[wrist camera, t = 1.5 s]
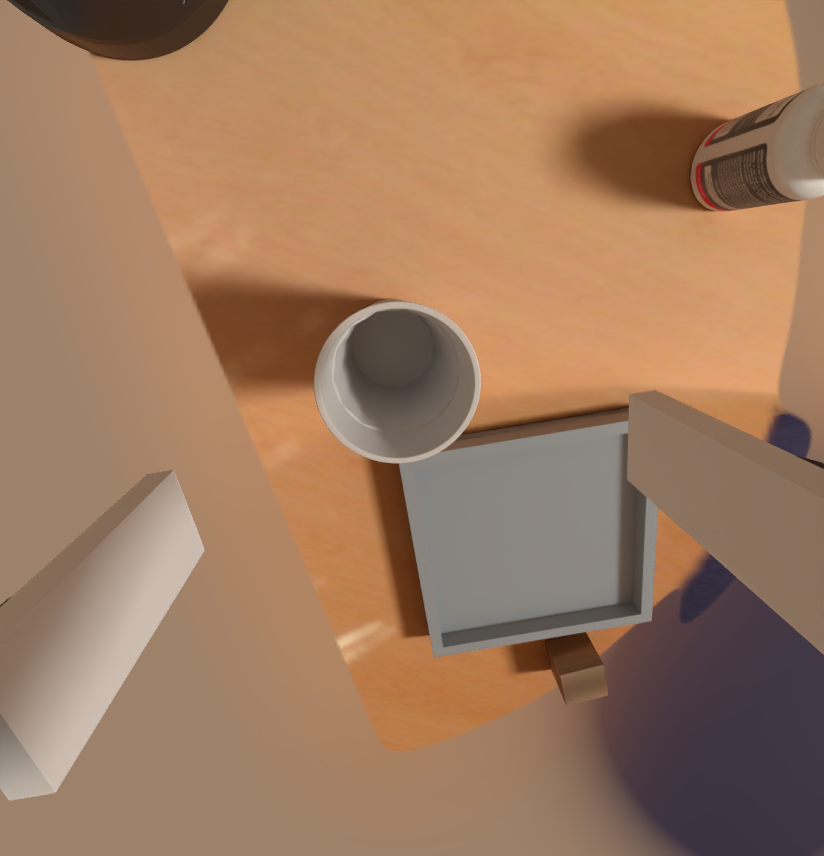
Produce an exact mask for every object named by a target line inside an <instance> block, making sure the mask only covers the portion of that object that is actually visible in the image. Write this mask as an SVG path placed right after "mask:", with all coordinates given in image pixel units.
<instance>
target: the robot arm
mask: <svg viewBox="0 0 824 856" xmlns="http://www.w3.org/2000/svg"><path fill="white" fill-rule="evenodd" d="M8 1H9V2H11V3H12V4H13V5H14V6H16V7H17V8H18V9H20V10H21V11H22V12H24V13H25V14H26V15H28V16H29V17H31V18H32V19H34V20H35V21H37V22H38V23H39V24H41V25H42V26H44V27H45V28H47V29H48V30H50V31H51V32H53V33H54V34H56V35H57V36H59V37H61V38H62V39H64V40H66V41H68V42H69V43H72V44H74V45H76V46H78V47H80V48H82V49H85V50H87V51H90V52H93V53H96V54H99V55H103V56H108V57H113V58H119V59H148V58H154V57H159V56H163V55H166V54H169V53H172V52H174V51H176V50H179V49H181V48H182V47H184V46H186V45H188V44H189V43H191V42H192V41H194V40H195V39H196V38H198V37H199V36H200V35H201V34H203V33H204V32H205V31H206V30H207V29H208V28H209V27H210V26H211V24H212V23H213V22H214V21H215V20H216V19H217V17H218V16H219V14H220V13H221V12H222V10H223V9H224V7H225V5H226V3H227V2H228V0H8ZM627 480H628V481H629V482H630V483H631V484H632V485H634V486H635V487H636V488H637V489H638V490H639V491H640V492H641V493H643V494H644V495H645V496H646V497H647V498H648V499H649V500H650V501H652V502H653V503H654V504H655V505H656V506H657V507H658V508H659V509H661V510H662V511H663V512H664V513H665V514H666V515H667V516H668V517H670V518H671V519H672V520H673V521H674V522H675V523H676V524H677V525H679V526H680V527H681V528H682V529H683V530H684V531H685V532H686V533H688V534H689V535H690V536H691V537H692V538H693V539H694V540H695V541H697V542H698V543H699V544H700V545H701V546H702V547H703V548H704V549H706V550H707V551H708V552H709V553H710V554H711V555H712V556H713V557H714V558H716V559H717V560H718V561H719V562H720V563H721V564H722V565H723V566H725V567H726V568H727V569H728V570H729V571H730V572H731V573H732V574H734V575H735V576H736V577H737V578H738V579H739V580H740V581H741V582H743V583H744V584H745V585H746V586H747V587H748V588H750V590H752V591H753V592H754V593H755V594H756V595H757V596H759V598H761V599H762V600H763V601H764V602H765V603H766V604H767V605H769V606H770V607H771V608H772V609H773V610H774V611H775V612H776V613H777V614H779V615H780V616H781V617H782V618H783V619H784V620H785V621H787V622H788V623H789V624H790V625H791V626H792V627H793V628H794V629H796V630H797V631H798V632H799V633H800V634H801V635H802V636H803V637H804V638H806V639H807V640H808V641H809V642H810V643H811V644H812V645H813V646H815V647H816V648H817V649H818V650H819V651H820V652H821V653H822V654H824V464H823V463H821V462H818V461H814V460H810V459H807V458H803V457H799V456H796V455H792V454H790V453H788V452H786V451H784V450H782V449H780V448H778V447H775V446H773V445H771V444H769V443H767V442H765V441H763V440H761V439H758V438H756V437H754V436H752V435H750V434H748V433H746V432H743V431H741V430H739V429H737V428H735V427H733V426H731V425H729V424H726V423H724V422H722V421H720V420H718V419H716V418H714V417H712V416H709V415H707V414H705V413H703V412H701V411H699V410H697V409H694V408H692V407H690V406H688V405H686V404H684V403H682V402H680V401H677V400H675V399H673V398H671V397H669V396H667V395H665V394H662V393H660V392H658V391H656V390H654V391H648V392H642V393H636V394H630V395H629V421H628V461H627ZM204 550H205V549H204V547H203V544H202V542H201V539H200V536H199V534H198V531H197V529H196V526H195V523H194V521H193V519H192V516H191V513H190V510H189V508H188V505H187V503H186V500H185V497H184V495H183V492H182V490H181V488H180V484H179V482H178V479H177V477H176V474H175V472H174V470H170V471H164V472H159V473H152V474H147V475H146V476H145V477H144V478H143V479H142V480H141V481H139V482H138V483H137V484H136V485H135V486H134V487H133V488H132V489H130V491H128V492H127V493H126V494H125V495H124V496H123V497H122V498H121V499H120V500H118V501H117V502H116V503H115V504H114V505H113V506H112V507H111V508H110V509H108V510H107V511H106V512H105V513H104V514H103V515H102V516H101V517H100V518H98V519H97V521H95V522H94V523H93V524H92V525H91V526H90V527H88V528H87V529H86V530H85V531H84V532H83V533H82V534H81V535H80V536H79V537H78V538H76V539H75V540H74V541H73V542H72V543H71V544H70V545H69V546H67V547H66V548H65V549H64V550H63V551H62V552H61V553H60V554H59V555H57V556H56V557H55V558H54V559H53V560H52V561H51V562H50V563H49V564H48V565H46V566H45V567H44V568H43V569H42V570H41V571H40V572H39V573H38V574H36V575H35V576H34V577H33V578H32V579H31V580H30V581H29V582H28V583H27V584H26V585H24V587H22V588H21V589H20V590H19V591H18V592H17V593H15V594H14V595H13V596H12V597H10V598H9V599H7V600H6V601H5V602H4V603H3V604H1V605H0V789H1V790H2V791H3V793H4V794H5V795H6V797H7V798H8V799H9V801H10V800H16V799H22V798H28V797H34V796H40V795H45V794H52V793H56V791H57V789H58V788H59V786H60V784H61V783H62V781H63V780H64V778H65V776H66V775H67V773H68V771H69V770H70V768H71V766H72V765H73V763H74V762H75V760H76V758H77V757H78V755H79V754H80V752H81V750H82V748H83V747H84V745H85V744H86V742H87V740H88V739H89V737H90V736H91V734H92V732H93V731H94V729H95V727H96V726H97V724H98V722H99V721H100V719H101V718H102V716H103V715H104V713H105V711H106V710H107V708H108V706H109V705H110V703H111V701H112V700H113V698H114V697H115V695H116V693H117V692H118V690H119V689H120V687H121V685H122V684H123V682H124V680H125V679H126V677H127V676H128V674H129V672H130V671H131V669H132V667H133V666H134V664H135V662H136V661H137V659H138V658H139V656H140V654H141V653H142V651H143V650H144V648H145V646H146V645H147V643H148V641H149V640H150V638H151V636H152V635H153V633H154V631H155V630H156V628H157V627H158V625H159V624H160V622H161V620H162V618H163V617H164V615H165V614H166V612H167V610H168V608H169V607H170V606H171V604H172V602H173V601H174V599H175V598H176V596H177V594H178V593H179V591H180V589H181V588H182V586H183V585H184V583H185V581H186V580H187V578H188V576H189V575H190V573H191V572H192V570H193V568H194V566H195V565H196V563H197V562H198V560H199V558H200V557H201V555H202V554H203V552H204Z"/></svg>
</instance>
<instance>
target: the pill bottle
mask: <svg viewBox="0 0 824 856" xmlns="http://www.w3.org/2000/svg"><path fill="white" fill-rule="evenodd" d="M690 179H691V185H692V189H693V192H694V195H695V197H696V198H697V200H698V201H699V202H700V203H701V204H702V205H703V206H704V207H706V208H708V209H710V210H714V211H731V210H740V209H746V208H753V207H759V206H765V205H772V204H779V203H787V202H793V201H801V200H808V199H812V198H816V197H820V196H823V195H824V83H822V84H819V85H815V86H813V87H811V88H808V89H806V90H804V91H801V92H799V93H796V94H794V95H791V96H789V97H786V98H784V99H782V100H779V101H777V102H774V103H772V104H769V105H767V106H765V107H762V108H760V109H757V110H754V111H752V112H749V113H747V114H745V115H742V116H740V117H737V118H735V119H733V120H731V121H728V122H726V123H724V124H722V125H720V126H719V127H717V128H716V129H715V130H713V131H712V132H711V133H710V134H709V135H708V136H707V137H706V138H705V139H704V141H703V142H702V143H701V145H700V146H699V148H698V150H697V152H696V154H695V157H694V160H693V163H692V169H691V178H690Z"/></svg>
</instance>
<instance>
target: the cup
mask: <svg viewBox="0 0 824 856" xmlns="http://www.w3.org/2000/svg"><path fill="white" fill-rule="evenodd" d="M480 388H481V376H480V368H479V363H478V359H477V356H476V354H475V351H474V349H473V347H472V345H471V343H470V341H469V340H468V338H467V337H466V335H465V334H464V333H463V331H462V330H461V329H460V328H459V327H458V326H457V325H456V324H455V323H454V322H453V321H452V320H450V319H449V318H448V317H446V316H445V315H443V314H442V313H440V312H438V311H436V310H434V309H432V308H430V307H427V306H424V305H421V304H417V303H412V302H407V301H403V300H398V299H386V300H381V301H378V302H375V303H373V304H371V305H369V306H368V307H366V308H363V309H361V310H359V311H357V312H355V313H354V314H352V315H350V316H349V317H348V318H346V319H345V320H344V321H342V322H341V323H340V324H339V325H338V326H337V327H336V328H335V329H334V330H333V332H332V333H331V334H330V335H329V337H328V338H327V340H326V341H325V343H324V345H323V347H322V349H321V351H320V353H319V356H318V359H317V362H316V367H315V372H314V393H315V399H316V403H317V407H318V410H319V412H320V414H321V417H322V419H323V421H324V422H325V424H326V426H327V427H328V429H329V430H330V431H331V433H332V434H333V435H334V436H335V437H336V438H337V439H338V440H339V441H340V442H341V443H342V444H343V445H345V446H346V447H347V448H349V449H350V450H352V451H353V452H355V453H357V454H359V455H361V456H363V457H366V458H368V459H372V460H375V461H379V462H385V463H409V462H414V461H419V460H422V459H425V458H428V457H430V456H433V455H435V454H437V453H439V452H440V451H442V450H444V449H445V448H446V447H448V446H449V445H450V444H452V443H453V442H454V441H455V440H456V439H457V438H458V437H459V436H460V435H461V434H462V432H463V431H464V430H465V429H466V427H467V426H468V424H469V423H470V421H471V419H472V417H473V415H474V413H475V410H476V407H477V404H478V401H479V396H480Z"/></svg>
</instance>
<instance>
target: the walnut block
mask: <svg viewBox="0 0 824 856" xmlns="http://www.w3.org/2000/svg"><path fill="white" fill-rule="evenodd" d="M545 642H546V647H547V651H548V656H549V661H550V666H551V670H552V672H553V675H554V677H555V680H556V682H557V684H558V687H559V689H560V692H561V694H562V696H563V699H564V701H565V704H566V706H567V705H571V704H575V703H579V702H583V701H587V700H591V699H595V698H599V697H602V696H606V695H608V690H607V684H606V677H605V670H604V665H603V663H602V661H601V659H600V657H599V655H598V653H597V652H596V650H595V648H594V646H593V644H592V642H591V641H590V639H589V637H588V635H587V633H586V632H583V633H577V634H571V635H566V636H562V637H558V638H554V639H550V640H546V641H545Z"/></svg>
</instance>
